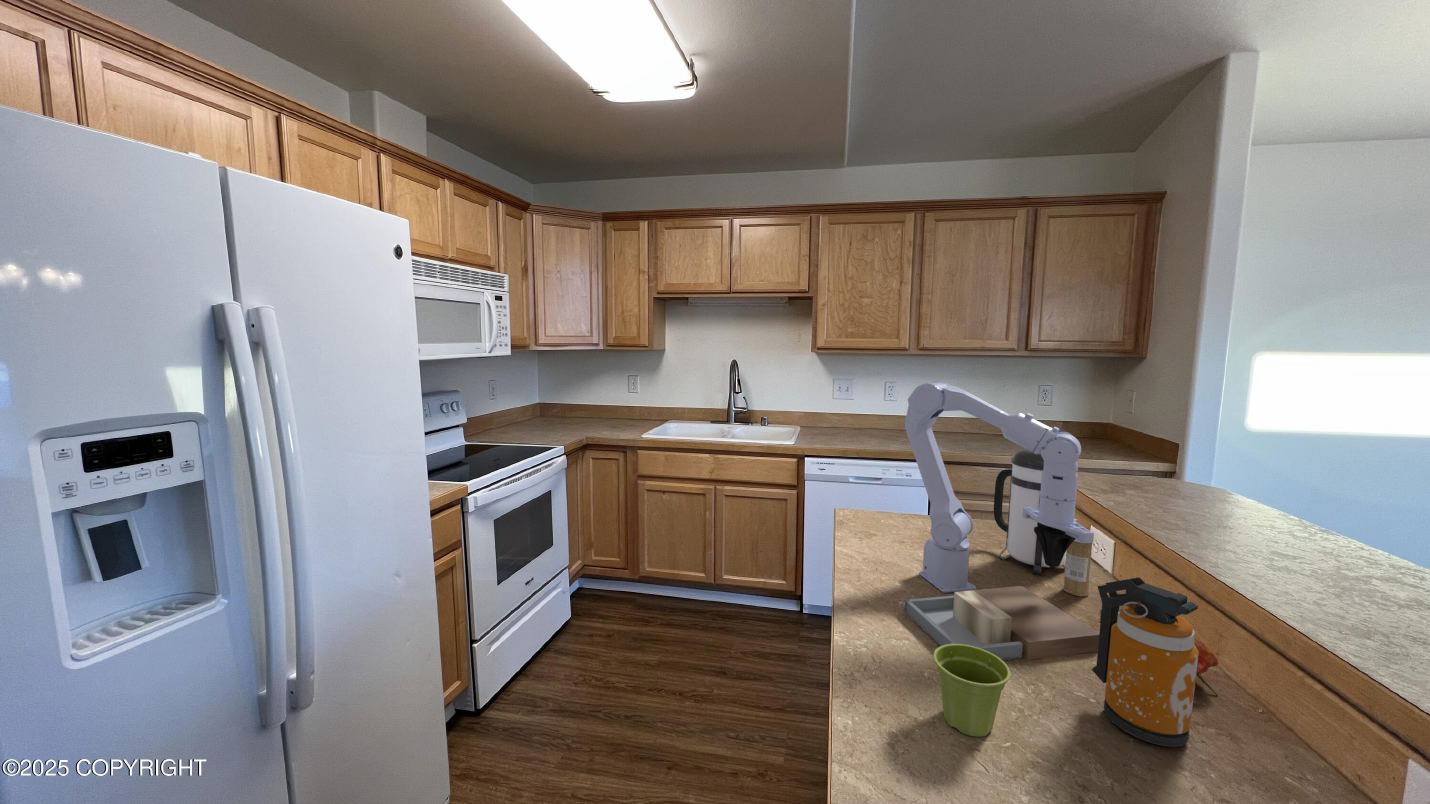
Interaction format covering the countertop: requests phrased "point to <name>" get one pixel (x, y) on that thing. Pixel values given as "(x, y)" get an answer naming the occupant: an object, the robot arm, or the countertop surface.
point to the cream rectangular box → (982, 618)
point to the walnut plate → (1041, 624)
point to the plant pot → (970, 686)
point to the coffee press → (1023, 495)
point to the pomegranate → (1204, 659)
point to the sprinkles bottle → (1078, 568)
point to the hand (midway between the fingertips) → (1052, 565)
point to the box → (953, 626)
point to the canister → (1147, 661)
